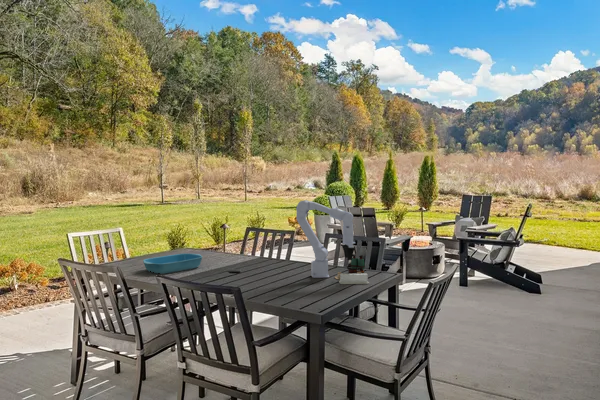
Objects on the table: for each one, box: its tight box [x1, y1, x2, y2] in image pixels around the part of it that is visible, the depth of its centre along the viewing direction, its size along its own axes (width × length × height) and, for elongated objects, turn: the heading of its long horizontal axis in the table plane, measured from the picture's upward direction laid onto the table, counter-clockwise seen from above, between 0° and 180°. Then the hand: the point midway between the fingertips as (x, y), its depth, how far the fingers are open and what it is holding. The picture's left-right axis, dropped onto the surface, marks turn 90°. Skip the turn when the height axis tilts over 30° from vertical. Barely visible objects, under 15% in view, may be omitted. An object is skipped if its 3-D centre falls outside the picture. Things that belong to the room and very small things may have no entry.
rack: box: [334, 271, 362, 280], centre depth 237 cm, size 16×5×3 cm, turn 95°
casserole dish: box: [142, 252, 203, 275], centre depth 261 cm, size 37×22×7 cm, turn 139°
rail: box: [339, 272, 369, 282], centre depth 227 cm, size 14×3×4 cm, turn 94°
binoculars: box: [346, 253, 366, 274], centre depth 250 cm, size 9×11×10 cm
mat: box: [338, 280, 370, 285], centre depth 227 cm, size 15×6×1 cm, turn 95°
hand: (348, 258), depth 238 cm, fingers open, 7 cm apart
